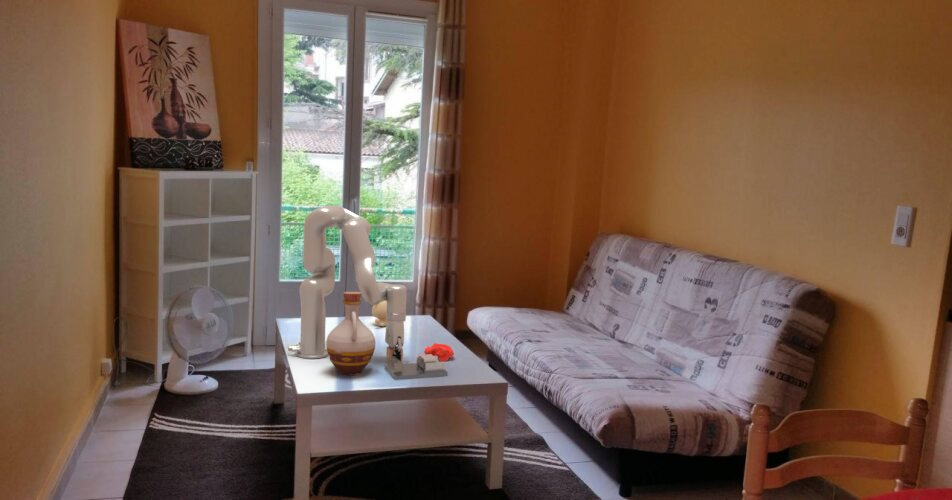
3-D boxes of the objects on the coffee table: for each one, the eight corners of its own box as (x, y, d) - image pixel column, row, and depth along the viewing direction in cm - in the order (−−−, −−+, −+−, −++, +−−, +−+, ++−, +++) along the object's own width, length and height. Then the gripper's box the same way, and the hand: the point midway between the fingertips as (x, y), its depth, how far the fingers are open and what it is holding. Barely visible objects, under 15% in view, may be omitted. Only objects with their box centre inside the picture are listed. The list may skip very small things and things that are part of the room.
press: (395, 380, 256) (396, 365, 255) (384, 369, 268) (385, 354, 268) (447, 375, 264) (448, 361, 263) (434, 365, 277) (434, 351, 276)
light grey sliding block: (423, 369, 264) (424, 359, 264) (418, 365, 269) (418, 354, 269) (436, 368, 266) (436, 358, 266) (430, 364, 272) (431, 354, 271)
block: (389, 365, 274) (390, 350, 273) (386, 361, 278) (386, 346, 278) (402, 364, 276) (402, 349, 275) (398, 361, 281) (399, 346, 280)
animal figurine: (443, 351, 299) (444, 340, 298) (457, 361, 285) (458, 348, 285) (417, 353, 294) (418, 341, 294) (430, 362, 281) (431, 350, 280)
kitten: (390, 321, 348) (391, 291, 346) (402, 326, 340) (403, 295, 339) (364, 325, 338) (365, 294, 336) (376, 329, 330) (377, 298, 329)
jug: (378, 379, 255) (381, 297, 252) (328, 381, 250) (330, 297, 247) (370, 364, 274) (373, 287, 270) (323, 365, 269) (325, 287, 265)
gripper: (380, 312, 281) (378, 357, 283) (393, 321, 266) (391, 369, 268) (398, 311, 284) (396, 356, 286) (412, 321, 269) (410, 367, 271)
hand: (394, 361), depth 277 cm, fingers closed on block, 5 cm apart
